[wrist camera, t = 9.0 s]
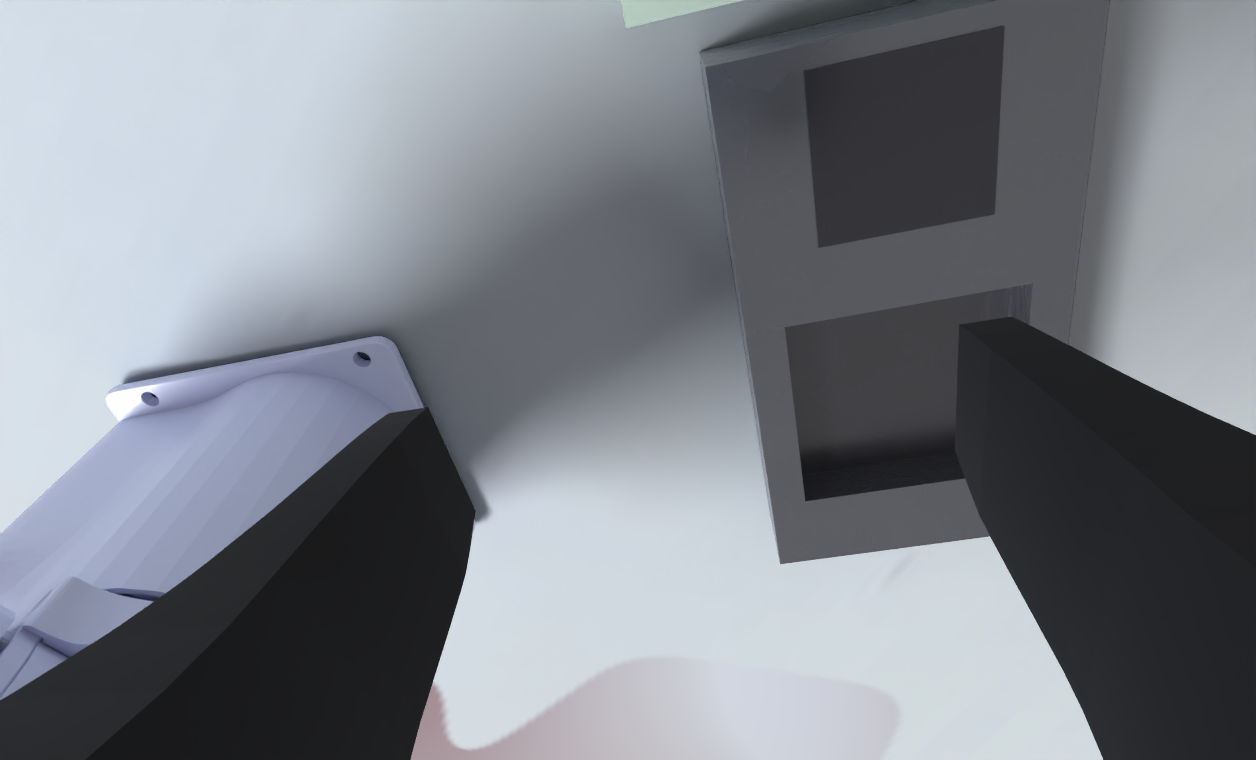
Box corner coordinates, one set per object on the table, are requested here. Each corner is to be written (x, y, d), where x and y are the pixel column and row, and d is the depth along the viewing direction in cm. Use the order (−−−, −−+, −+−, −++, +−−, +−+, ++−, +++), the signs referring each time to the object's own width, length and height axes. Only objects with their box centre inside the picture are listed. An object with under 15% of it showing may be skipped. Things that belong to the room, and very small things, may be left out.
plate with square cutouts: (770, 515, 25) (780, 565, 23) (698, 51, 17) (705, 68, 15) (1014, 480, 24) (1046, 529, 22) (1058, -33, 16) (1114, -27, 14)
